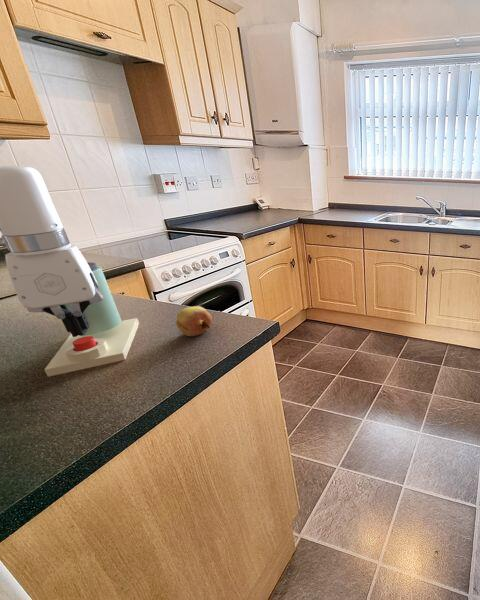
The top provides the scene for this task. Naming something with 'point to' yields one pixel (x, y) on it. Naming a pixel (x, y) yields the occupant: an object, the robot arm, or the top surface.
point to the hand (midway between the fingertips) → (80, 333)
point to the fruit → (193, 320)
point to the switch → (84, 343)
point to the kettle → (101, 306)
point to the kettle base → (95, 349)
